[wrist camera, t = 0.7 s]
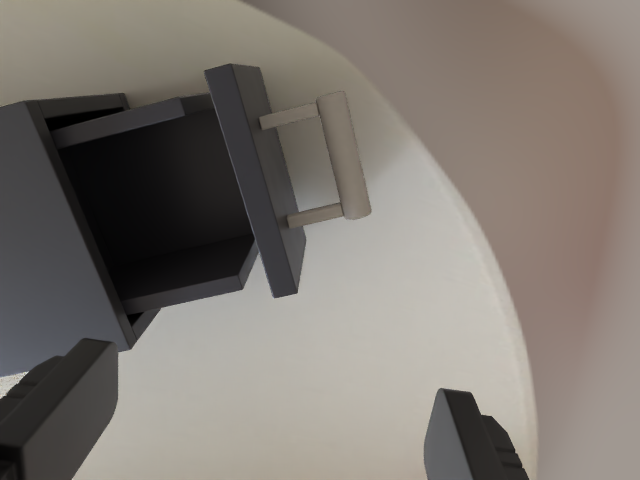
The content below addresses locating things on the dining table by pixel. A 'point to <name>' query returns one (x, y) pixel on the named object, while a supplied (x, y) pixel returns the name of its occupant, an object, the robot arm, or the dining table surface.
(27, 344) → the cabinet
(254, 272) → the dining table surface
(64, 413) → the robot arm
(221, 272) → the drawer
